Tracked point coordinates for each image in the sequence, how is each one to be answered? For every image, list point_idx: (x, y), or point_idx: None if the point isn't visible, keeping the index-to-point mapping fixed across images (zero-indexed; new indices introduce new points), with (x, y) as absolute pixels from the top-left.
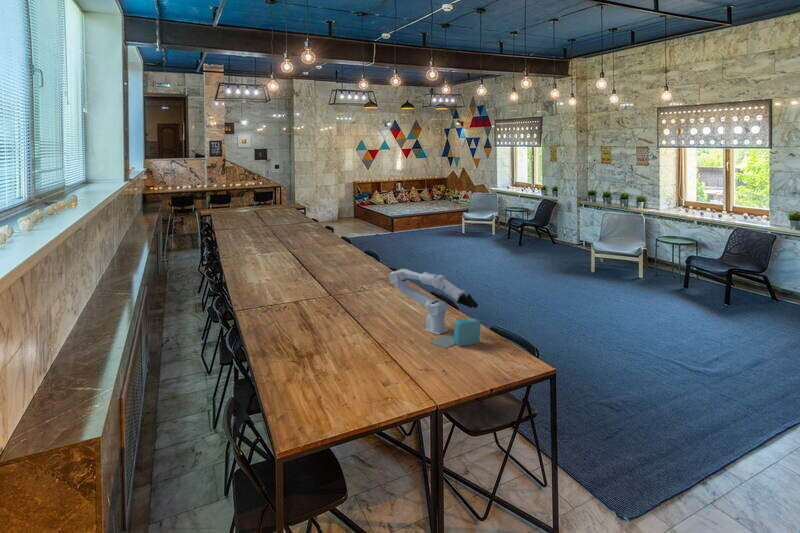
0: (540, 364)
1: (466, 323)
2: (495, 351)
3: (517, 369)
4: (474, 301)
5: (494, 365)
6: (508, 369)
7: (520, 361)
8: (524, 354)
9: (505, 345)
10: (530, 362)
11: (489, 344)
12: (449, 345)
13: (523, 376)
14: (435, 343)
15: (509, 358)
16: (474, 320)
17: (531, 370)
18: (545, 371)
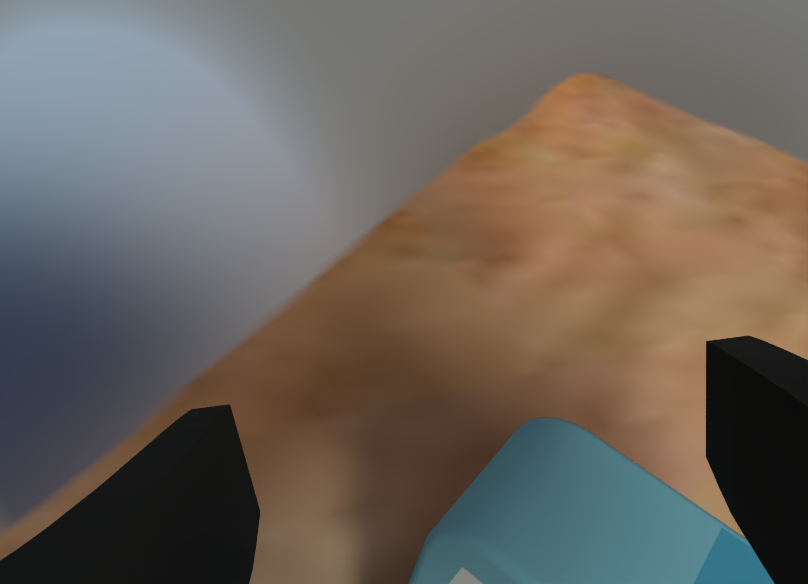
0: (547, 106)
1: None
2: (539, 374)
3: (726, 195)
4: (168, 487)
5: (805, 321)
6: (776, 236)
7: (591, 194)
8: (447, 186)
9: (332, 328)
10: (560, 148)
11: (394, 472)
12: None
13: (784, 161)
14: None
15: (598, 257)
16: (619, 495)
17: (671, 136)
18: (623, 86)
